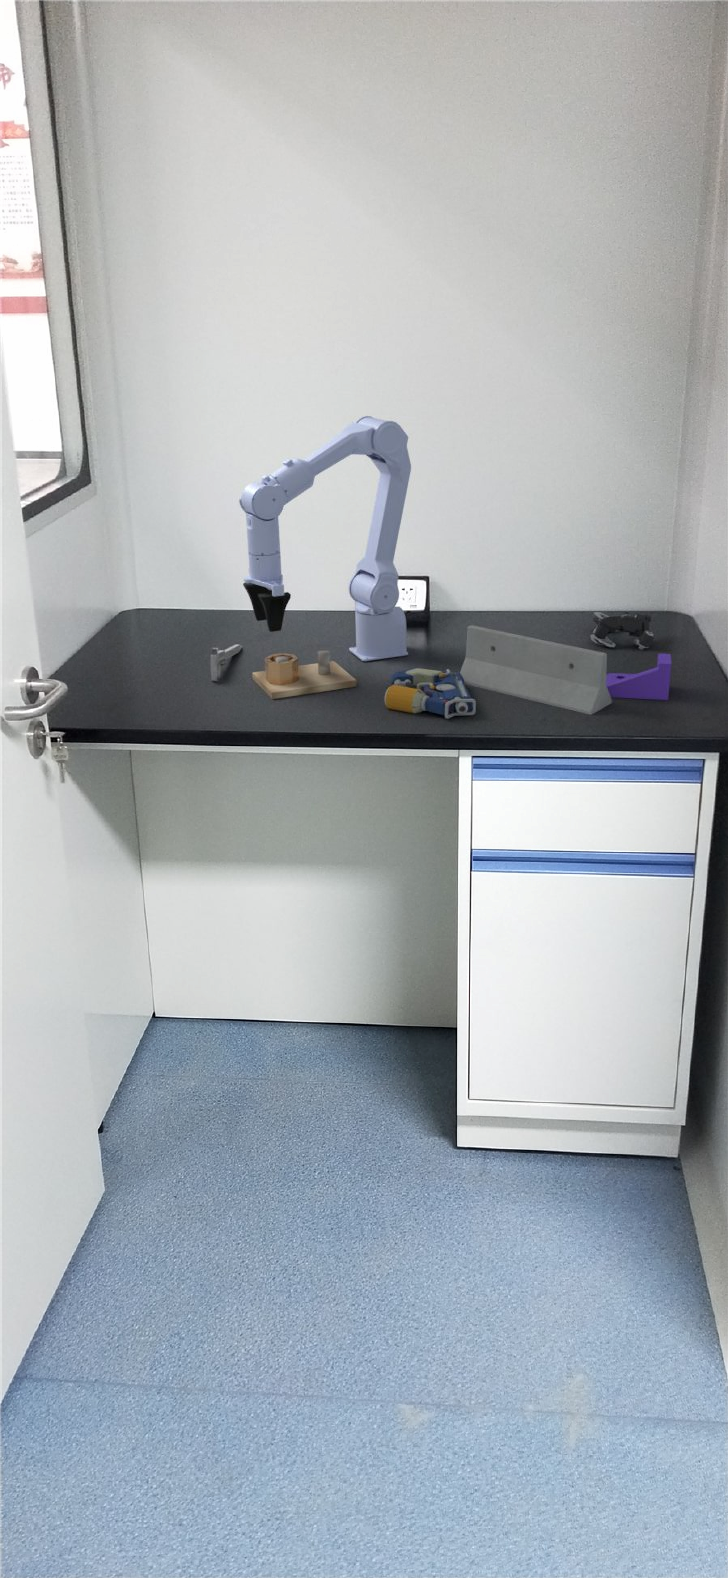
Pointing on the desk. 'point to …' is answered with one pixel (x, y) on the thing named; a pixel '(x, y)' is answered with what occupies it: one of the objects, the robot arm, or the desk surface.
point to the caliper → (221, 659)
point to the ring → (281, 669)
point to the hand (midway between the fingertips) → (268, 625)
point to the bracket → (642, 682)
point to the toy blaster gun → (429, 693)
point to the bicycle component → (622, 629)
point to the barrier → (536, 670)
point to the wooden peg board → (309, 678)
